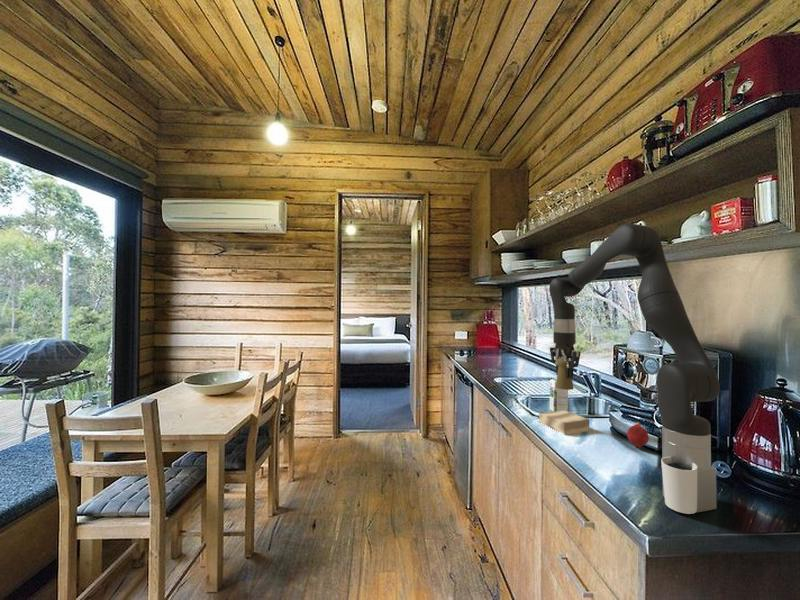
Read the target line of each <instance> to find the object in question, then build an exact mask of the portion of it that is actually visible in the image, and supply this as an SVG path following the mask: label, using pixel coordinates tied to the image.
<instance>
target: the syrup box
mask: <svg viewBox="0 0 800 600" xmlns="http://www.w3.org/2000/svg"><path fill="white" fill-rule="evenodd" d="M556 381H557V378H551V379H549V412H553V411H561V410H564V411H567V412H569V390H565V389H559V388H556Z"/></svg>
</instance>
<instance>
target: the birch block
mask: <svg viewBox="0 0 800 600" xmlns="http://www.w3.org/2000/svg"><path fill="white" fill-rule="evenodd" d="M538 415H539V416H538V417H539V424H541V423H542V424H541V425H543V424H544V425H543V426H545V425H546V426H545V427H547V426H548V427H547V428H549V427H550V429H551V428H552V430H553V429H554V430H553V431H555V430H556V431H555V432H557V431H558V432H557V433H559V432H561V433H563V434H567V435H572V433H574V434H578V433H585V432H590V419H589V418H587V417H584V416H581V415H578V414H575V413H573V412H570V411H568V412H567V411H564V410H561V411H553V412H551V411H547V412H541V413H540V412H539V413H538ZM561 433H560V434H561ZM563 434H562V435H563Z"/></svg>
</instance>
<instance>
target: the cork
mask: <svg viewBox="0 0 800 600" xmlns="http://www.w3.org/2000/svg"><path fill="white" fill-rule="evenodd" d="M570 363H571V362H569V364H570ZM557 365H558V374H557V375H556V379H557V381H556V388H559V389H565V390H568V391H569V390H570V391H571V390H574V382H573V378H567V372H566V368H567V366H566V362H564V358H559V359H558V360H557Z"/></svg>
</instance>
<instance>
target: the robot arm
mask: <svg viewBox="0 0 800 600" xmlns="http://www.w3.org/2000/svg"><path fill="white" fill-rule="evenodd" d="M621 255H623V256H629V257H634V258H635V259H636V260H637V263H638V264H639V268H640V271H641V280H640V283H639V285H638V288H637V289H638V290H637V301H638V305H639V308H640V311H641V314H642V316H643V319H644V320H645V322H646V324H647V325H648V326H649V327H650V328H651V329H652V330H653V331H654V332H656V334H657V335H659V336H660V337H661V338H662V339H663V340H664V341H665V342H666V343H667V344H668V345H669V347H670V348H671V349H672V351H673V352H674V354H675V357H676V358H677V361H678V362H676V363H675V362H671V363H670V362H669V363H665V364H663V365H662V366H660V368H659V369H658V371H657V374H656V375H657V376H656V391H657V402H658V403H657V404H658V405H657V408H658V412H659V416H660V418H661V424H662V425H661V430H662V431H661V448H662V449H661V450H662V451H661V452H662V453H661V454H662V455H661V456H662V458H664V457H671V464H674V463H677V464H679V465H680V466H681V467H685V468H690V469H692V463H694V464H696V465H697V512H696V513H701V512H707V511H712V510H717V469H716V467H714V466H712V451H711V450H712V449H711V448H712V447H711V446H712V443H711V441H712V435H711V434H712V433H711V431H712V430H711V429H712V428H711V423H710V421H709V420H708V419H706V418H705V417H701V416H700V415H696V414H694V413H693V410H692V405H691V403H695V402H696V403H699V402H701V403H702V402H703V403H704V402H711V401H715V399H717V398H718V397H719V395H720V391H721V386H720V385H721V384H720V381H719V377H718V375H717V372H716V370H715V368H714V366H713V364H712V363H711V361H710V359H709V357H708V355H707V354H706V352H705V350H704V348H703V346H702V345H701V342H700V340H699V338H698V337H697V335H696V332H695V330H694V327H693V325H692V323H691V322H690V321H691V320H690V319H689V317H688V314H687V311H686V309H685V305H684V302H683V300H682V298H681V295H680V293H679V291H678V289H677V287H676V285H675V282H674V279H673V277H672V273H671V271H670V267H669V266H668V263H667V260H666V255H665V252H664V247H663V244H662V239H661V237H660V235H659V233H658V231H657V230H656V229H655V228H654V227H650V226H647V225H642V224H639V223H638V224H636V223H624V224H622V225H620V226H618V227H617V228H616V229H614V230H613V231H612V232H611V234H609V236H608V237H606V239H605V240H604V241H603V242H602V243H601V244H600V245H599V246H598V247H597V248H596V250H595V251H594V252H592V254H591V255H589V256H588V257H587V258H586V259H585V260H584V261H582V262H581V263H580V264H578V265H576V267H574V268H573V269H571V270H570V272H569V274H568V277H556V278H553V279H552V280H551V282H550V283H549V287H548V291H549V295H550V298H551V303H552V305H553V308H554V309H553V310H554V311H553V314H554V315H553V316H554V317H553V329H552V330H553V343H554V344H555V345H554V346H553V347H549V354H550V359H551V362H552V363H553V364H554V365H555V373H556V376H557V374H558V365H557V360H558V359H559V358H564V362H566V366H567V368H566V372H567V378H572V379H573V378H574V368H578V367H579V364H580V363H579V362H580V359H581V351H577V350H575V347H574V345H575V344H576V339H577V338H576V334H577V333H576V331H577V330H576V320H575V318H576V312H575V305H574V304H573V303H570V302H568V301H567V300H566V297H567V298H568V297H569V298H570V297H571V298H572V297H575V296H577V295H578V294H580V293H581V292H582V291H583V289H584V288H585V286H586V285H588V284H589V283H591V282H593V281H595V280H596V279H598V278H599V276H601V275H602V273H603V271H605V270H604V269H605V267H606V264H607V263H609V261H611V260H613V259H614V258H616V257H618V256H621ZM569 362H571V363H570V364H569ZM662 458H661V459H662ZM692 470H693V469H692ZM661 475H662V474H661ZM662 477H663V475H662ZM662 496H663V497H664V498H665V495H664V485H663V484H662Z"/></svg>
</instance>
